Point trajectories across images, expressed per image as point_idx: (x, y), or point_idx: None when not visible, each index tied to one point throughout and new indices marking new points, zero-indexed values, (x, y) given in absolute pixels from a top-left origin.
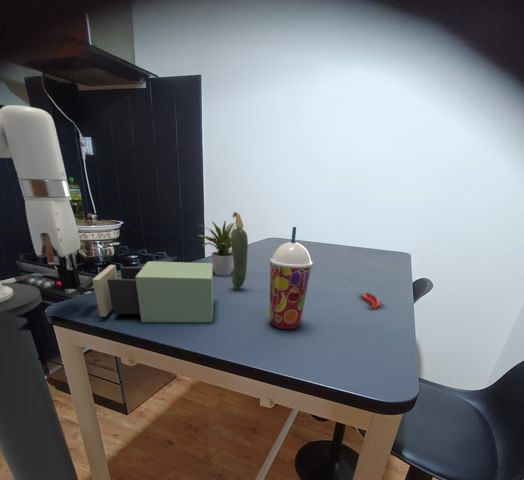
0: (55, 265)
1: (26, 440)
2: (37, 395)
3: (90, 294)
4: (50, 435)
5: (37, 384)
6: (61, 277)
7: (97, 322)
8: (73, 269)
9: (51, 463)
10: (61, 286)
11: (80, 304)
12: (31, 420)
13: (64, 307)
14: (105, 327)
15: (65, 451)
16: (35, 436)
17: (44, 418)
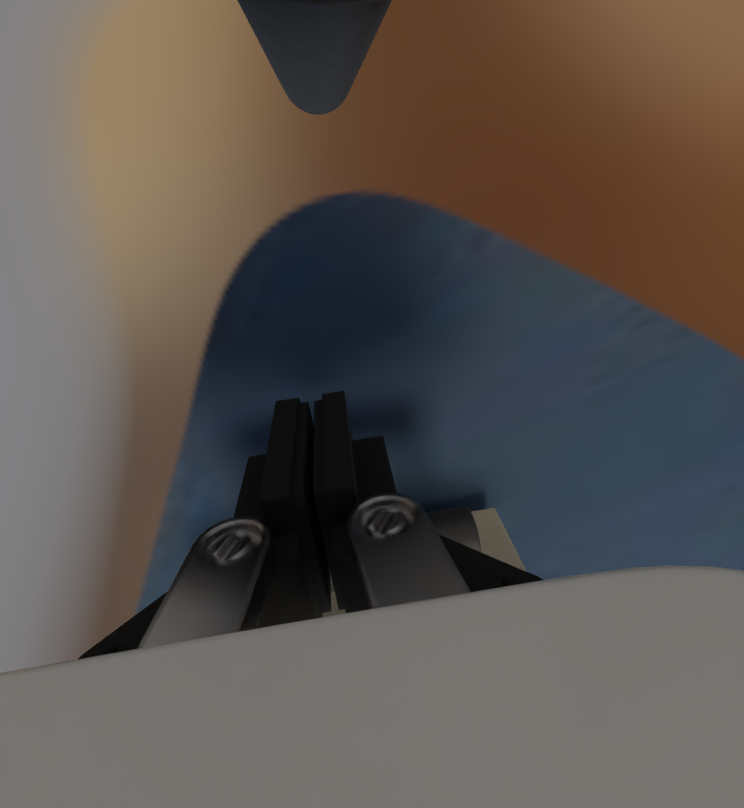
0: (115, 642)
1: (239, 3)
2: (289, 18)
3: (624, 299)
4: (295, 55)
5: (304, 9)
6: (239, 497)
7: (190, 532)
8: (343, 605)
9: (279, 61)
10: (275, 406)
11: (426, 333)
12: (253, 13)
13: (358, 263)
14: (149, 581)
15: (327, 74)
16: (257, 26)
17: (291, 41)
